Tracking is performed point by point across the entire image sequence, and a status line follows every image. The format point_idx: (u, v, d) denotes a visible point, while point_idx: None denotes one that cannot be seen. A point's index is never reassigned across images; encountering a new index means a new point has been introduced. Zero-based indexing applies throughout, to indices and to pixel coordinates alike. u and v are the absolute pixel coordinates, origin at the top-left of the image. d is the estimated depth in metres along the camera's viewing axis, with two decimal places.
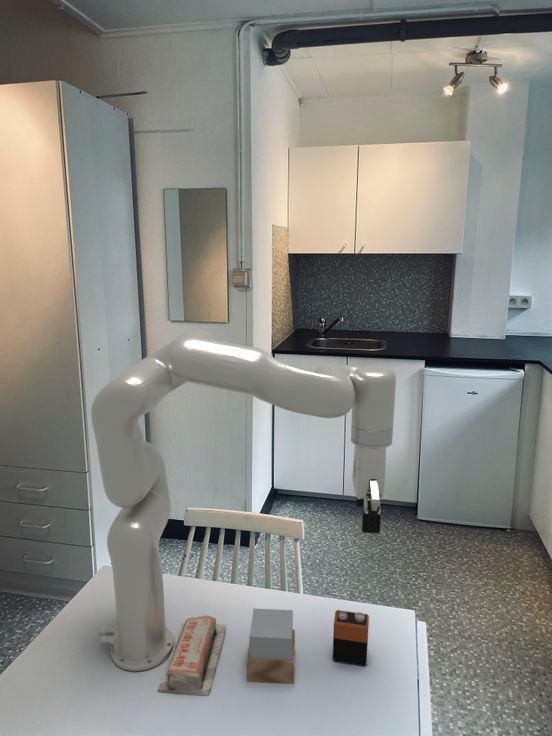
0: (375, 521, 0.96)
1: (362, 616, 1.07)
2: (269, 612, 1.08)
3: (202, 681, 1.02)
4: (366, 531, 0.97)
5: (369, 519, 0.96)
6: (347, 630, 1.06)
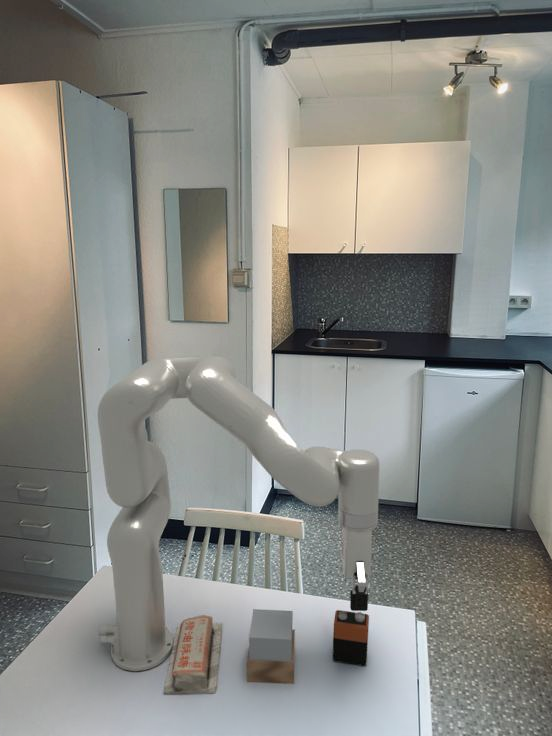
0: (362, 600, 1.00)
1: (362, 616, 1.07)
2: (268, 613, 1.08)
3: (208, 679, 1.02)
4: (354, 609, 1.01)
5: (357, 598, 1.00)
6: (347, 630, 1.06)
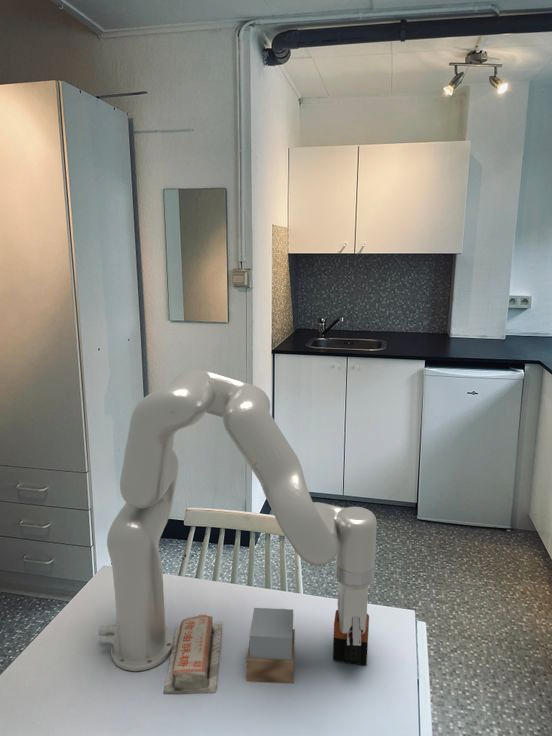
0: (356, 651, 1.05)
1: None
2: (269, 611, 1.08)
3: (208, 678, 1.02)
4: (348, 659, 1.06)
5: (351, 650, 1.05)
6: None
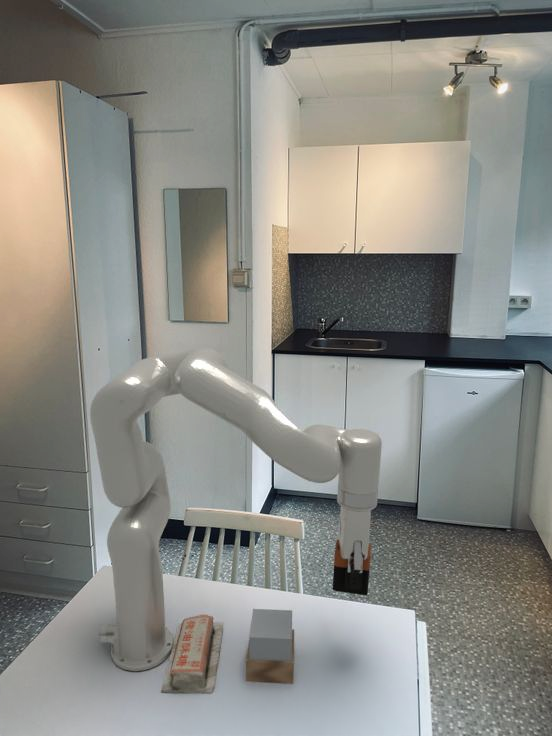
0: (357, 579, 1.01)
1: None
2: (268, 612, 1.08)
3: (206, 679, 1.02)
4: (348, 588, 1.02)
5: (351, 577, 1.01)
6: None
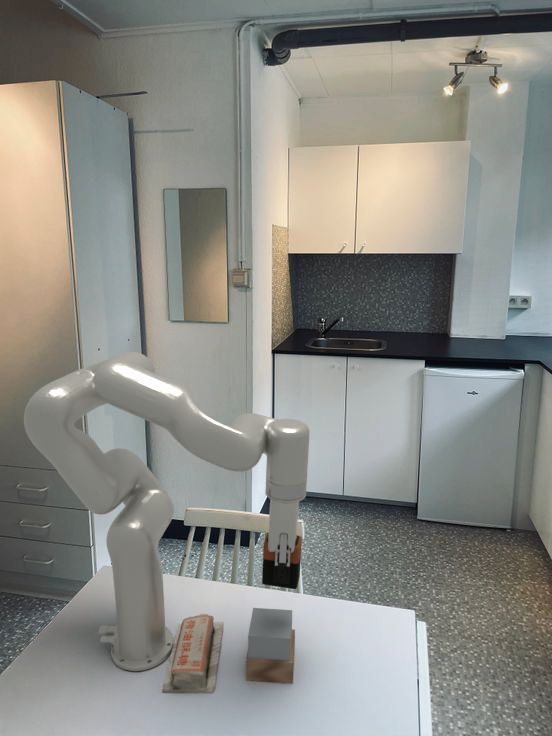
0: (285, 573, 0.98)
1: None
2: (268, 612, 1.08)
3: (206, 678, 1.02)
4: (277, 581, 1.00)
5: (279, 571, 0.98)
6: None
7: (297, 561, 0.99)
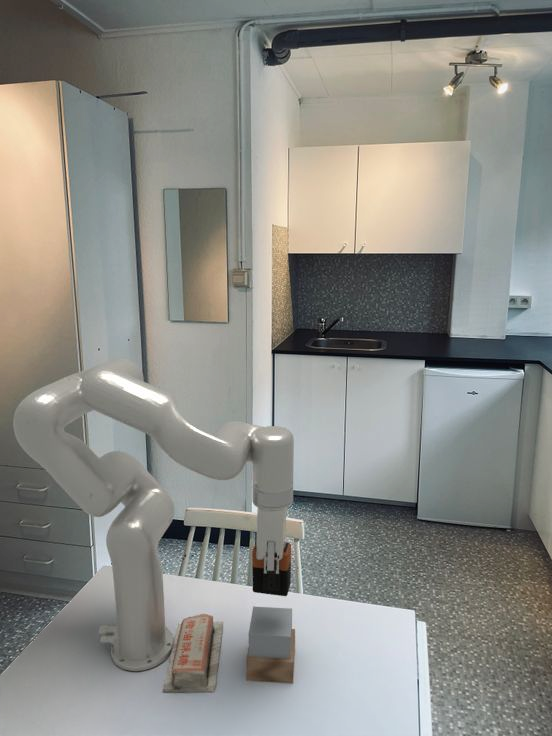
0: (274, 580, 0.98)
1: None
2: (268, 610, 1.08)
3: (207, 678, 1.03)
4: (267, 589, 1.00)
5: (268, 578, 0.98)
6: None
7: (286, 568, 0.99)
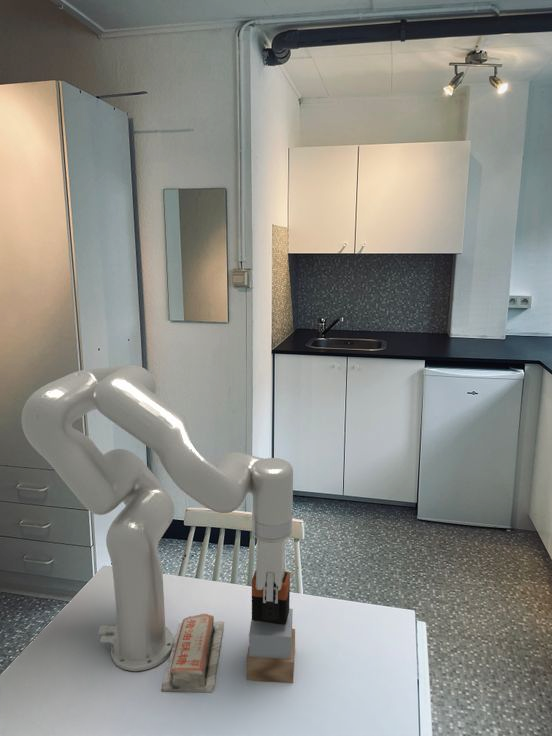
0: (273, 610, 1.00)
1: None
2: None
3: (205, 678, 1.03)
4: (266, 618, 1.01)
5: (267, 608, 1.00)
6: None
7: (285, 598, 1.01)
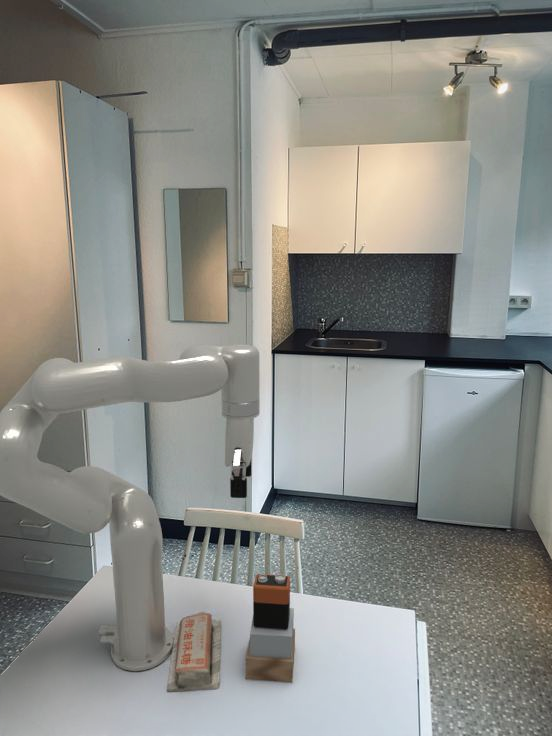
0: (241, 486, 1.04)
1: (282, 578, 1.03)
2: None
3: (210, 675, 1.03)
4: (234, 496, 1.05)
5: (235, 485, 1.04)
6: (267, 592, 1.01)
7: (287, 602, 1.02)
